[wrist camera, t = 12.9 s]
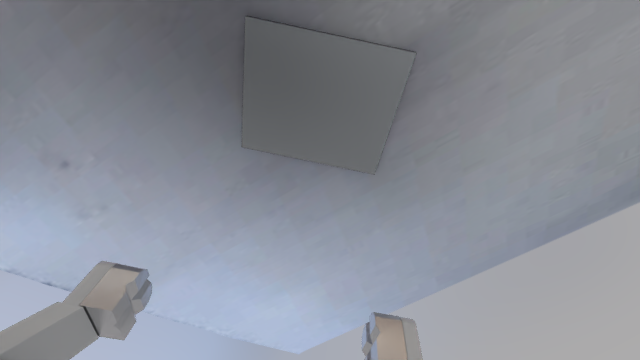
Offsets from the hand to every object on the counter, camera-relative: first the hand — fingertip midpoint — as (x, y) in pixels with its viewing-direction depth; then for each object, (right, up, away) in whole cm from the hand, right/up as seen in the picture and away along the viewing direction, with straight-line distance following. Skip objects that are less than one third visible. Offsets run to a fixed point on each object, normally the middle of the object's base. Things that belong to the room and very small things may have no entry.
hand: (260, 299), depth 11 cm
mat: (+2, +11, +17) cm, 20 cm away
